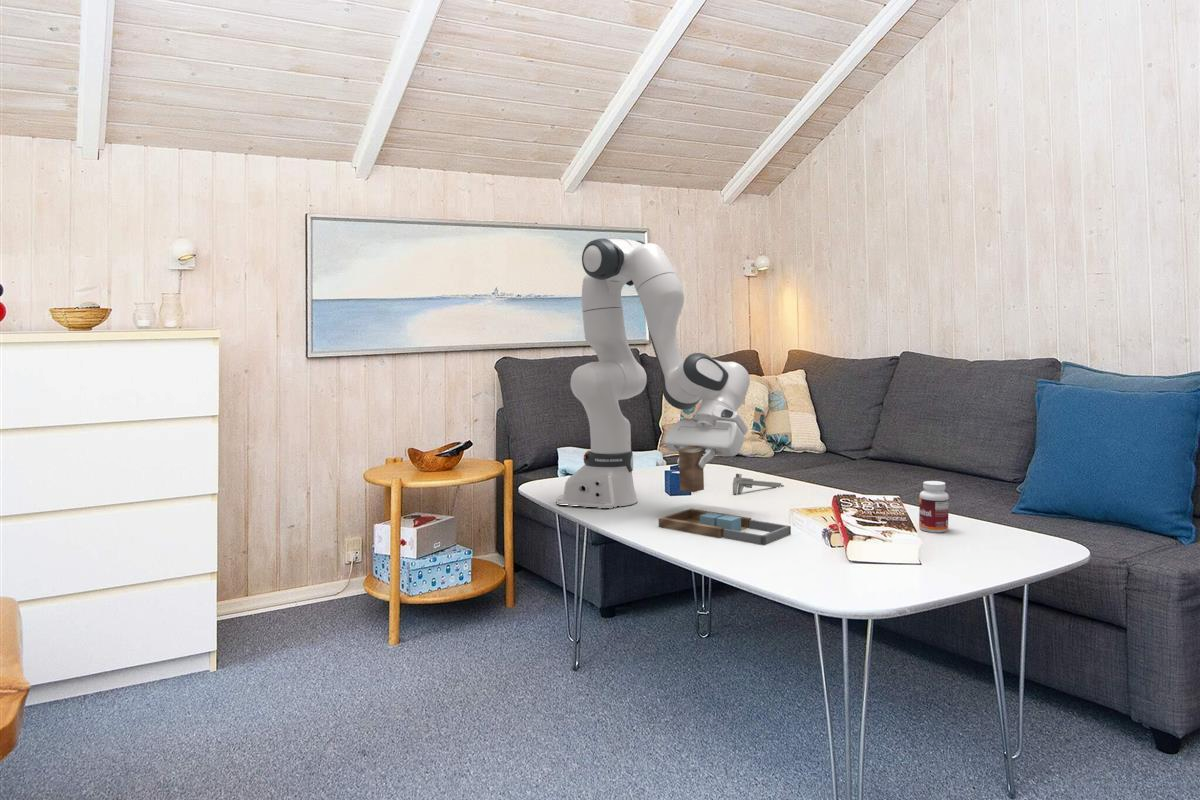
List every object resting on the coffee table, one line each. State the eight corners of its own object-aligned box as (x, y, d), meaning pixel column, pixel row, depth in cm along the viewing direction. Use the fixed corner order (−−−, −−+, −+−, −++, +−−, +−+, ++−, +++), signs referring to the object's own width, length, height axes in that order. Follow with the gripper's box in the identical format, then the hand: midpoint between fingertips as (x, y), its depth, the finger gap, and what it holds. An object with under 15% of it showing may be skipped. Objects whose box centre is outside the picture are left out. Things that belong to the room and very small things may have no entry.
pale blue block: (699, 528, 183) (699, 515, 182) (709, 524, 186) (709, 512, 185) (714, 530, 180) (714, 517, 180) (724, 527, 183) (724, 514, 183)
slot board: (658, 531, 185) (658, 518, 185) (691, 521, 195) (690, 508, 194) (720, 543, 174) (720, 529, 173) (751, 531, 183) (751, 518, 183)
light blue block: (716, 531, 180) (716, 518, 179) (726, 527, 183) (726, 515, 182) (731, 533, 177) (731, 520, 177) (741, 530, 180) (741, 517, 180)
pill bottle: (913, 527, 184) (914, 480, 183) (937, 526, 185) (938, 479, 184) (929, 534, 178) (929, 485, 177) (954, 532, 179) (954, 484, 178)
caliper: (735, 496, 225) (735, 474, 224) (732, 495, 226) (732, 473, 225) (784, 487, 237) (784, 466, 236) (781, 486, 238) (781, 465, 237)
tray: (723, 542, 174) (723, 529, 174) (751, 532, 183) (751, 519, 182) (763, 550, 167) (763, 536, 167) (790, 539, 176) (790, 526, 176)
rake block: (679, 490, 186) (678, 448, 185) (690, 487, 189) (688, 446, 188) (693, 492, 183) (692, 449, 182) (704, 489, 186) (703, 447, 185)
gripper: (673, 410, 197) (649, 454, 190) (743, 413, 183) (719, 460, 176) (684, 426, 200) (661, 470, 194) (754, 430, 186) (731, 477, 180)
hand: (689, 465), depth 185 cm, fingers closed on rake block, 4 cm apart
